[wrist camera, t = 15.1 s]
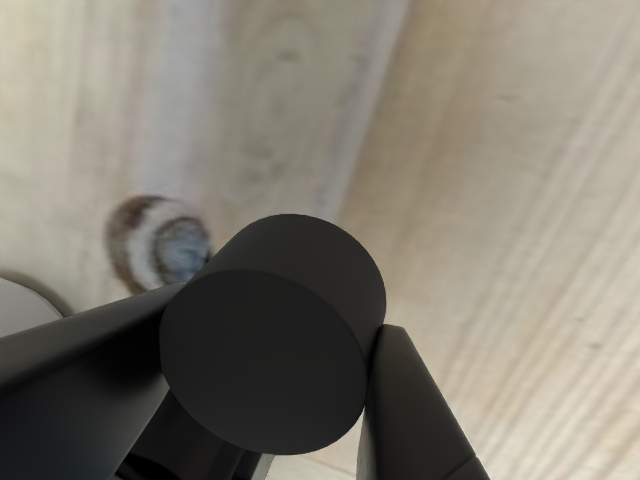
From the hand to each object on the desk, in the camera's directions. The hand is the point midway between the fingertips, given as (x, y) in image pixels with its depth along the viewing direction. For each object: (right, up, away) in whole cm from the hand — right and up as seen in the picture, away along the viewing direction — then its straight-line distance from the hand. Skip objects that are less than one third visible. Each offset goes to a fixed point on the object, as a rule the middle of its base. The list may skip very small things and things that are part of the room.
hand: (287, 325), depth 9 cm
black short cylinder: (0, 0, +1) cm, 1 cm away
